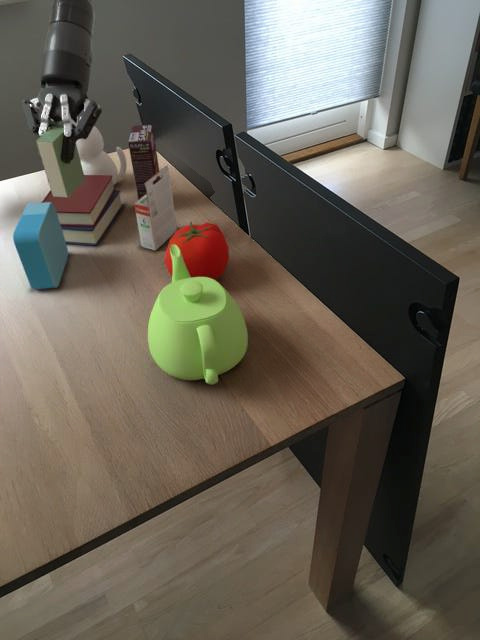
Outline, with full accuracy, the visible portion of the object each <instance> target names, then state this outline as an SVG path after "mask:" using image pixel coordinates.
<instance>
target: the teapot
mask: <svg viewBox="0 0 480 640" xmlns="http://www.w3.org/2000/svg"><path fill="white" fill-rule="evenodd" d="M170 253H171V257H172V263H173V274H172V276H171V282H170V283H168V284H167V285H165V286H164V287H163V288H162V289H161V291H160V293H159V294H158V296H157V298H156V299H155V302H154V304H153V307H152V309H151V312H150V315H149V320H148V326H147V344H148V348H149V353H150V355H151V357H152V359H153V361H154V362H155V364H157V366H158V367H159V369H161V370H162V371H164V372H165V373H166V374H167V375H169V376H171V377H174V378H176V379H179V380H182V381H199V380H205V383H206V384H208V385H215V384H217V383H218V382H219V376H220V375H222V374H224V373H226V372H228V371H230V370H231V369H233V368H234V367H235V366H236V365H238V364H239V363H240V362H241V361H242V359H243V358H244V356H245V355H246V352H247V350H248V345H249V344H248V343H249V335H248V328H247V323H246V321H245V318H244V315H243V312H242V310H241V309H240V307H239V305H238V303H237V302H236V301H235V299H234V298H233V297H232V296H231V294H230V293H229V291H227V290H226V289H225V287H224V286H222V284H220V282H218V281H217V280H213V279H211V278H208V277H192V278H191V277H190V275H189V272H188V270H187V268H186V265H185V263H184V260H183V257H182V254H181V251H180V249H179V248H178V246H177V245H175V244H173V245H171V246H170Z"/></svg>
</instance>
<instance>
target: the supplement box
mask: <svg viewBox="0 0 480 640" xmlns="http://www.w3.org/2000/svg"><path fill="white" fill-rule="evenodd" d="M130 130H131V131H130V135H129V138H128V143H127V145H128V149H129V155H130V161H131V162H130V163H131V166H132V167H131V168H132V172H133V177H134V183H135V190H136V196H137V201H138V200H139V199H141V198H142V197H143V196H144V195H146V189H145V184H144V183H145V182H146V181H148V180H149V179H150V178H151V177H153V176H154V175H155V174H157V173H158V172H159V171H160V166H159V159H158V152H157V144H156V137H155V130H154V125H153V124H139V125H132V126H131V128H130ZM159 179H161V175H160V176H157V178H156V180H154V181H153V184H154V183H156V182H157V181H158V180H159Z"/></svg>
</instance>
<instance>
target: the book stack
mask: <svg viewBox="0 0 480 640" xmlns="http://www.w3.org/2000/svg"><path fill="white" fill-rule="evenodd" d="M84 177H85V179H84V180H83V182H82V183H81V184H80V185H79V186H78V188H77V189H76V190H75V191H74V193H73V194H72V195H71V196H70V197H69V198H61V197H53V196H52V192H51V189H50V190H49V191H48V193H47V194H46V196H44V198H43V199H42V201H41V202H40V203H47V202H52V203H53V204H54V205H55V208H56V212H57V215H58V218H59V222H60V225H61V228H62V231H63V235H64V238H65V241H66V245H72V246H85V247H98V245H99V243H100V242H101V240H102V239H103V237H104V236H105V234H106V233H107V231H108V230H109V229H110V227H111V225H112V224H113V222H114V221H115V219H116V218H117V216H118V215H119V213H120V211H121V210H122V209H123V207H124V203H122V202H123V201H122V197H121V189H116V188H115V185H114V186H113V181H112V175H84Z"/></svg>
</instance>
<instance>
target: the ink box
mask: <svg viewBox="0 0 480 640" xmlns="http://www.w3.org/2000/svg"><path fill="white" fill-rule="evenodd" d="M157 176H160V178H161V179H159V180H158V181H157V182H156V183H154V184H153V181H154V180H156V178H157ZM144 184H145V189H146V195H144V196H143V197H142V198H141V199H139V200H138V199H137V201H136V202H135V203H134V204H133V205H134V210H135V216H136V221H137V228H138V233H139V238H140V239H139V240H140V245H141V247H142V248H143V249H148V250H152V251H157V250H159V248H160V247H162V245H164V244H165V243H166V242H167V241H168V240H169V239H171V238H172V236H173V235H174V234H175V232H176V231H177V230H178V228H177V221H176V213H175V212H176V211H175V205H174V198H173V197H174V196H173V189H172V186H171V185H172V183H171V177H170V171H169V166H168V165H165V166H164V167H163V168H162V169H159V172H158V173H157V174H155V175H154V176H153V177H151V178H150V179H149V180H148V181H146V182H145V183H144Z"/></svg>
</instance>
